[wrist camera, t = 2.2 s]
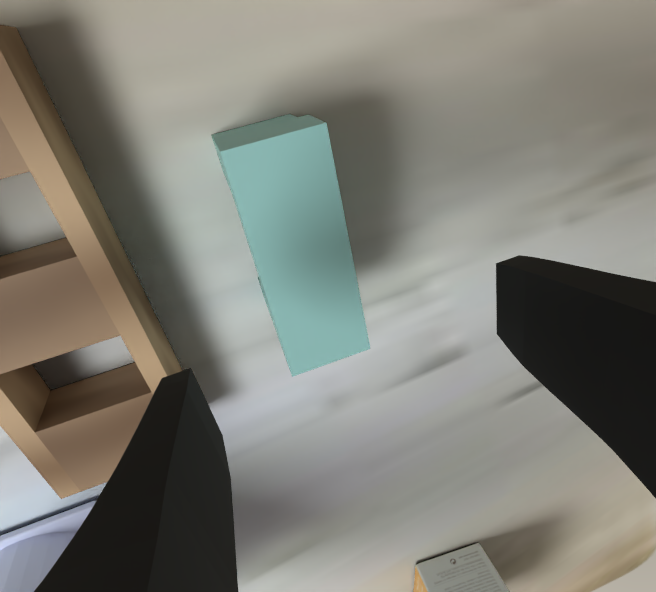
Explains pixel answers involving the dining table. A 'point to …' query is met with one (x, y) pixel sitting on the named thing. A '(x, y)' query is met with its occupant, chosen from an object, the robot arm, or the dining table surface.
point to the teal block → (297, 236)
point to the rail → (67, 301)
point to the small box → (459, 573)
